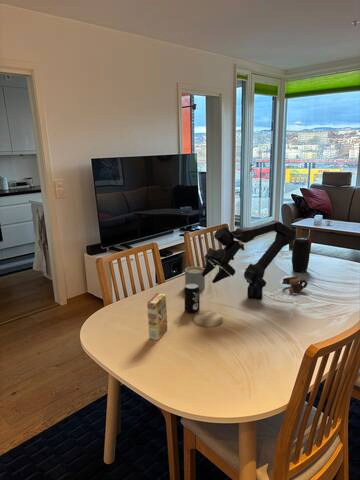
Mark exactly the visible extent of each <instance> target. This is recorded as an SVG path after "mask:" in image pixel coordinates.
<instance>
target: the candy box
mask: <svg viewBox="0 0 360 480" xmlns="http://www.w3.org/2000/svg"><path fill="white" fill-rule="evenodd" d="M146 306H147V319H148V320H147V322H148V337H149V339H150V340H155V341H159V340H160V339H161V338H162V337H163V336H164V335H165V333H166V332H167V331H168V314H167V312H168V311H167V294H166V293H165V294H164V293H156V294H155V295H154V296H152V297H151V298H150V299H149V300H148V301H147V304H146Z"/></svg>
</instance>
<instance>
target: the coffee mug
mask: <svg viewBox="0 0 360 480" xmlns="http://www.w3.org/2000/svg"><path fill="white" fill-rule="evenodd" d="M204 268H205V267H202V266H188V267H186V268H185V269H184V278H185V279H184V283H185V284H184V286H185V285H186V284H189V283H195V284H198V287H199V293H201V292H203V291H204V290H205V289H206V287H205V286H206V283H205V282H206V279H205V278H206V275H205V276H204V277H203V276H202V273H203V271H204Z"/></svg>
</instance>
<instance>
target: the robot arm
mask: <svg viewBox="0 0 360 480" xmlns="http://www.w3.org/2000/svg"><path fill="white" fill-rule="evenodd" d="M271 232H275V233H276V234H275V238H274V241H273V242H272V243H271V245H270V246H269V247H268V249H266V251H265V253H263V255H262V256H261V257H260V258H259V259H258V261H257V262H256V263H255V264H253V263H250V264H249V265H248V266H247V267H246V268H245V269H244V272H243V278H244V280H246V283H248V286H247V291H246V293H247V298H248V299H253V300H263V297H264V293H263V292H264V291H263V289H264V287H266V285H267V281H265V280H264V276H265V271H266V269H267V268H268V267H269V266H270V264H271V263H272V262H273V260H275V258H276V257H277V256H278V254H279V253H280V252H281V250H282V249H283V248H284V247H285V246H288V245H290V244H292V242H294V239H295V238H296V236H297V231H296V230H295V229H293V228H290V227H288V226H286V225H285V224H284V223H282V222H281V221H279V220H275V219H273V220H270V221H267V222H265V223H262V224H257V225H255V226H249V227H245V226H243V227H238V228H236V229H235V230H233V231H231V230H229V228H228V227H226V226H223V227H222V228H219V229H218V230H216V232H215V233H214V235H213V238H214V239H215V240H216V241H218V243H219V244H220V245H221V246H223V247H224V248H219V249H214V248H212V247H209V248H208V250H207V252H206V254H205V255H204V256H203V259H204V261H205V265H204V267H203V268H204V271H203V273H202V276H203V277H204V276H205V277H206V276H207V275H208V274H210V272H212V271H213V270H214V269H216V266H218V271H217V273H216V275H215V276H214V277H213V280H212V281H211V283H213V284H215V283H217V282H219V281H221V280H224V279H227V278H228V277H229V278H230V277H234V276H235V274H236V269H235V268H234V267H233V266H232V265H231V264H229V263H230V262H231V261H235V258H234V257H235V256H236V254H237V253H238V252H239V250H240V251H241V250H242V251H243V252H244V251H245V243H249V242H250V241H252V240H254V239H255V238H256V237H258V236H261V235H265V234H268V233H271ZM240 242H241V243H240Z"/></svg>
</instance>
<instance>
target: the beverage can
mask: <svg viewBox="0 0 360 480" xmlns="http://www.w3.org/2000/svg"><path fill="white" fill-rule="evenodd" d="M183 293H184V297H183V298H184V311H185V312H186V313H188V314H190V315H191V314H193V315H194V314H198V313H199V311H200V307H201V306H200V301H201V300H200V292H199V287H198V284H195V283H189V284H186V285H185V284H184V289H183Z"/></svg>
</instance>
